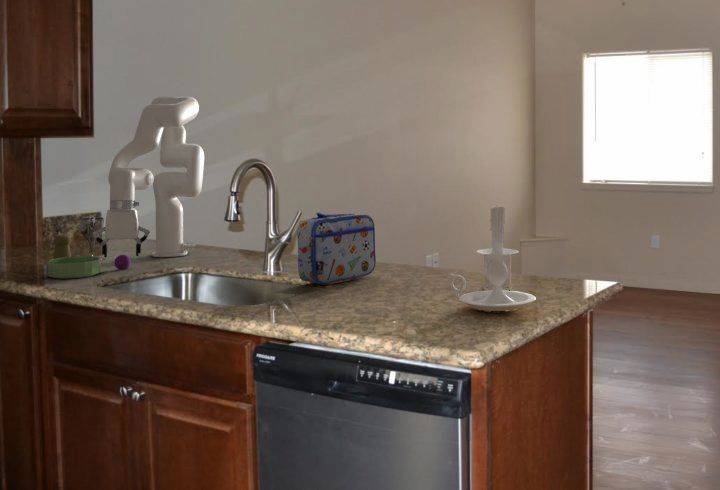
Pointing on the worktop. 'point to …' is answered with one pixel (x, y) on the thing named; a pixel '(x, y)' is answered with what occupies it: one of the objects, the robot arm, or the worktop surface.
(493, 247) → the candlestick
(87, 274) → the bowl
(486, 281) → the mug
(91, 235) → the wine glass
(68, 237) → the cork
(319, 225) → the lunch box
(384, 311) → the worktop surface
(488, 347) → the worktop surface
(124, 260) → the ball
